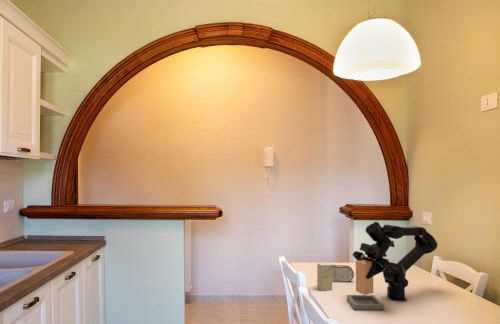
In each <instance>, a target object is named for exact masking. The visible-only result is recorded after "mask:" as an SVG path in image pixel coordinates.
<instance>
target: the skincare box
mask: <svg viewBox="0 0 500 324" xmlns="http://www.w3.org/2000/svg"><path fill="white" fill-rule="evenodd" d="M332 265H333V264H332V263H330V262H321V263H320V262H319V263H317V265H316V266H317V267H316V273H317V274H316V277H317V279H316V284H317V285H316V286H317V289H318V290H319V291H332V290H333V282H332Z"/></svg>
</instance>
